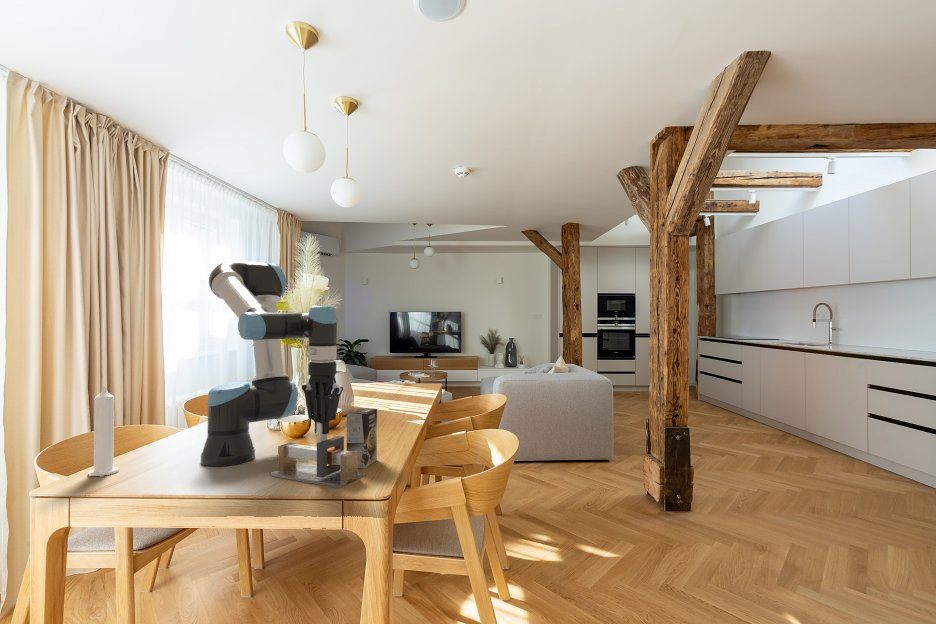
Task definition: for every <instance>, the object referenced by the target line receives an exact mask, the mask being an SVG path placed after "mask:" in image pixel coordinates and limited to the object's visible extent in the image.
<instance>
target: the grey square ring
mask: <svg viewBox="0 0 936 624" xmlns="http://www.w3.org/2000/svg"><path fill="white" fill-rule="evenodd" d="M316 447H317V461H316V465H317V477H321V478H323V477H325V476H328V475H330V474H332V473H334V472H337V471H339V470H340V465H337V464H333V465H329V464H327V449H329V448H337V449H340V450H343V451H345V435H344V436H343V435H337V436H334V437H331V438H327V440H325V441H322V442H319V443H317V446H316Z"/></svg>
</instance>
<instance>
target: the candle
mask: <svg viewBox="0 0 936 624" xmlns="http://www.w3.org/2000/svg"><path fill="white" fill-rule="evenodd" d="M93 406H94V407H93V408H94V409H93V415H94V416H93V469H91V470H89V471H88V472H87V476H88V477H90V476H100V477H105V476H104V475H107V476H111V475H114V474H117V473H118V472H119V470H120V468H119V467H118V466H114V449H115V448H114V443H115V442H114V441H115V440H114V438H115V435H114V434H115V433H114V431H115V430H114V427H115V424H114V423H115V421H114V420H115V395H113V394H111V393H110V392H108V389H107V386H106V384H103V386H102V388H101V391H100V392H99V393H98V394H97V395H95V397H94V403H93ZM110 474H111V475H110Z"/></svg>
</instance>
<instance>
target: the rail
mask: <svg viewBox="0 0 936 624" xmlns="http://www.w3.org/2000/svg"><path fill="white" fill-rule="evenodd" d="M277 447H278V448H277V449H278V450H277V451H278V452H277V457H278V458H277V470H273V471H272V472H270V473H269V476H270V477H274V478H281V479H287V480H292V481H297V482H302V483H303V482H304V483H310V484H314V485H321V486H327V487H332V488H337V489H340V488H342V487H344V486H346V485H348V484H350V483H352V482H354V481H357V480H358V479H360V478H363V477H364V476H365V472H362V471H359V468H358V451H346V450H344V451H343V450H340V449H337V448H334V447H332V448H329V449H327V465H333V464H337V465H340V470H339V471H337V472H334V473H332V474H330V475H328V476H325V477H323V478H321V477H317V464H313V463H312V464H311V463H306V462H300V461H298V462H297V459H298V460H306V461H311V462H317V446H315V445H314V446H312V445H305V444H298V443H297V442H293V441H291V442H288V443H284V444H281V445H279V446H277Z"/></svg>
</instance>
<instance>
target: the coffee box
mask: <svg viewBox="0 0 936 624" xmlns="http://www.w3.org/2000/svg"><path fill="white" fill-rule="evenodd" d="M345 449H346V450H345V451H358V469H367V468H368V467H369V466H370V465H372V464H373V463H375V462H376V461H378V460H377V459H378V408H372V407H367V408H357V409H354V410H352V411H349V412H346V448H345Z"/></svg>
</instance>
